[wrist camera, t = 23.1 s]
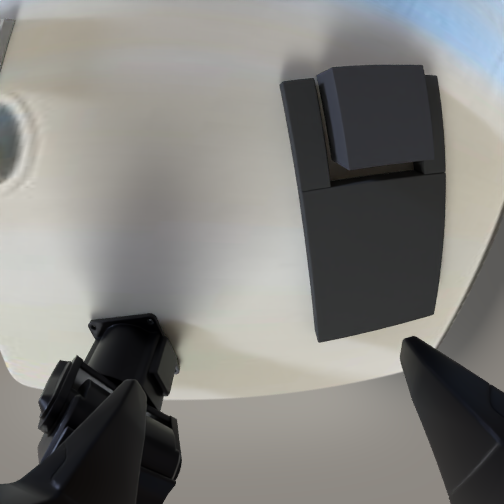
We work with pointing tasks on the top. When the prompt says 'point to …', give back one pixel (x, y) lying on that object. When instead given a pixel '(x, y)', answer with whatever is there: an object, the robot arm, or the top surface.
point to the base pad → (366, 227)
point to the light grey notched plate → (5, 36)
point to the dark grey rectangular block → (377, 115)
